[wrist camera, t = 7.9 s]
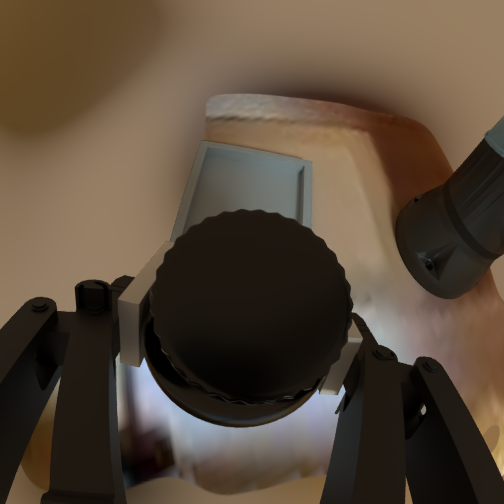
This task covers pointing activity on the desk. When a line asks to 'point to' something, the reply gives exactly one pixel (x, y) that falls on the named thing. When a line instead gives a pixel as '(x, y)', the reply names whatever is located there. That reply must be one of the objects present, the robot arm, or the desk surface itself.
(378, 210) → the desk surface
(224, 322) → the supplement bottle
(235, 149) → the tray
